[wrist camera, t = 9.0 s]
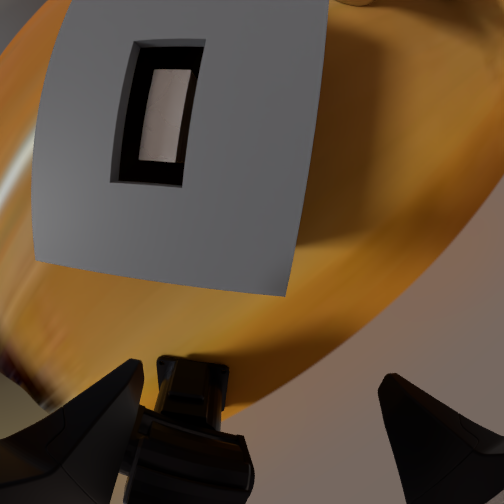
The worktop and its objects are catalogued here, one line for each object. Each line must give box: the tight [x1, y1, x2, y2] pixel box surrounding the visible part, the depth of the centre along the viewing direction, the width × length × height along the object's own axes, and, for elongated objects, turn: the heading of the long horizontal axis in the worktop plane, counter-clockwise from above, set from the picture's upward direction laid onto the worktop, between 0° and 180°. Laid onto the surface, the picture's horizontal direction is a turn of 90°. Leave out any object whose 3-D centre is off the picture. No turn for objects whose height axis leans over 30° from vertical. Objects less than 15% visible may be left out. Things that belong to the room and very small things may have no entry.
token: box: [139, 69, 197, 163], centre depth 14 cm, size 5×2×5 cm, turn 171°
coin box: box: [31, 0, 329, 297], centre depth 13 cm, size 16×14×7 cm
